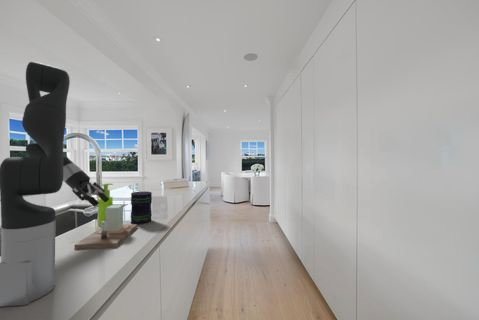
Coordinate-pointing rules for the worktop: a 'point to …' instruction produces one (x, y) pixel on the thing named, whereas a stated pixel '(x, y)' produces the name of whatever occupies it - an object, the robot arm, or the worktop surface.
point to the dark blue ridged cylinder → (141, 207)
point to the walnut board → (109, 242)
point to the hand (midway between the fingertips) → (102, 202)
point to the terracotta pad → (117, 231)
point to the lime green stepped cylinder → (104, 204)
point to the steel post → (103, 229)
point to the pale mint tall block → (114, 217)
